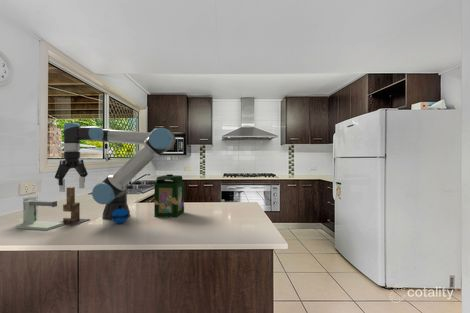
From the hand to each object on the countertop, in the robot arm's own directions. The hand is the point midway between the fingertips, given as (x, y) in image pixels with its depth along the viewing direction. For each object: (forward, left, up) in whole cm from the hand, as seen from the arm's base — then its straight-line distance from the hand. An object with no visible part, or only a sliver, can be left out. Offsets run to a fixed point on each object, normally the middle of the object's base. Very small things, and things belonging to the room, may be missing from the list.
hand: (72, 189), depth 144 cm
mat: (0, 0, -18) cm, 18 cm away
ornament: (-27, -3, -18) cm, 32 cm away
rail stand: (+9, +11, -18) cm, 23 cm away
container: (-44, -28, -18) cm, 55 cm away
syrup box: (+22, +5, -18) cm, 29 cm away
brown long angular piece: (0, 0, -18) cm, 18 cm away
